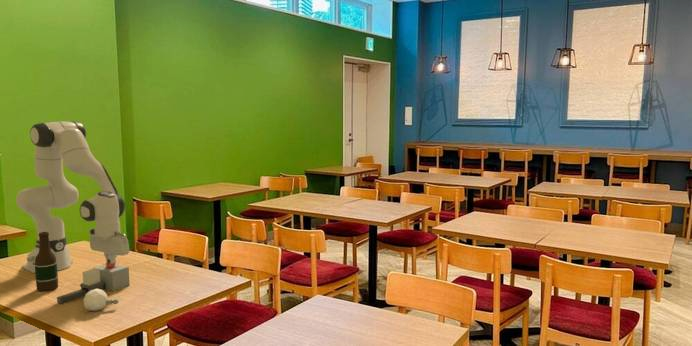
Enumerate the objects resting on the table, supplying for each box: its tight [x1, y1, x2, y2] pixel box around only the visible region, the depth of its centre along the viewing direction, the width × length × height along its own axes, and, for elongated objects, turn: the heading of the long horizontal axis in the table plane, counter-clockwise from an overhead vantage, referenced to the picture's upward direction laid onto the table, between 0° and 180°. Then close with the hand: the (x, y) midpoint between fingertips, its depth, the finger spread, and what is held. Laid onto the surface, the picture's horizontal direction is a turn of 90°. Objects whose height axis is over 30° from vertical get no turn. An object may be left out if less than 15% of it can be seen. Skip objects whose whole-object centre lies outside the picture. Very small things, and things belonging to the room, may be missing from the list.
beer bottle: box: [34, 232, 59, 293], centre depth 206 cm, size 8×8×24 cm
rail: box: [56, 283, 106, 305], centre depth 199 cm, size 2×19×2 cm, turn 153°
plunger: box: [105, 262, 115, 269], centre depth 211 cm, size 4×4×9 cm
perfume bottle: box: [83, 289, 119, 312], centre depth 186 cm, size 8×8×12 cm
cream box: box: [79, 268, 104, 292], centre depth 203 cm, size 6×6×9 cm
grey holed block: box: [92, 263, 131, 292], centre depth 211 cm, size 12×8×8 cm, turn 63°
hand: (110, 262), depth 210 cm, fingers closed, pressing on plunger
